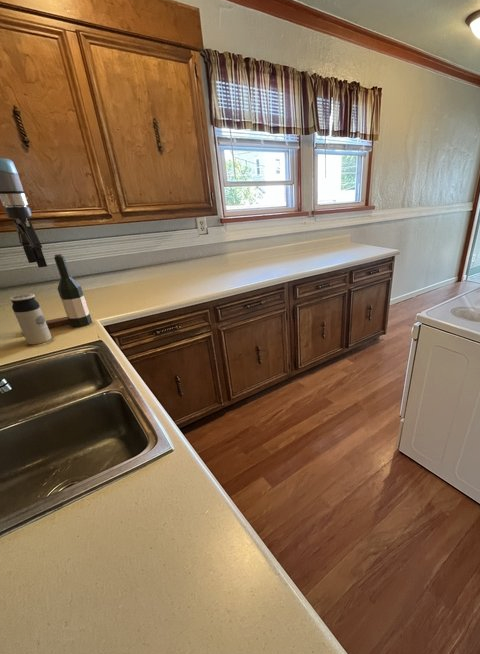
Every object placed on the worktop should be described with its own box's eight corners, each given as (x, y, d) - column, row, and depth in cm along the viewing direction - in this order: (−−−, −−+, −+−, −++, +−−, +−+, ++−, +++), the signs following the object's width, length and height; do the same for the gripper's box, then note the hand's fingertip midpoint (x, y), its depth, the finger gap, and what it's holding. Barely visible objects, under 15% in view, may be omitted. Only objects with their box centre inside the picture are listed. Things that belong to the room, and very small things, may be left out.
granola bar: (38, 330, 138) (36, 325, 137) (37, 327, 141) (35, 322, 140) (71, 323, 144) (69, 318, 143) (69, 321, 148) (67, 316, 146)
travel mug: (22, 343, 127) (3, 298, 118) (42, 335, 133) (25, 292, 125) (36, 345, 124) (18, 300, 116) (56, 337, 131) (40, 294, 123)
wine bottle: (96, 321, 147) (75, 253, 133) (81, 328, 140) (56, 257, 126) (82, 319, 149) (59, 252, 135) (65, 326, 142) (40, 256, 128)
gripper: (38, 207, 116) (58, 267, 125) (20, 205, 130) (39, 259, 140) (12, 208, 111) (35, 270, 120) (-4, 206, 125) (18, 262, 135)
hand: (37, 264), depth 130 cm, fingers open, 13 cm apart
